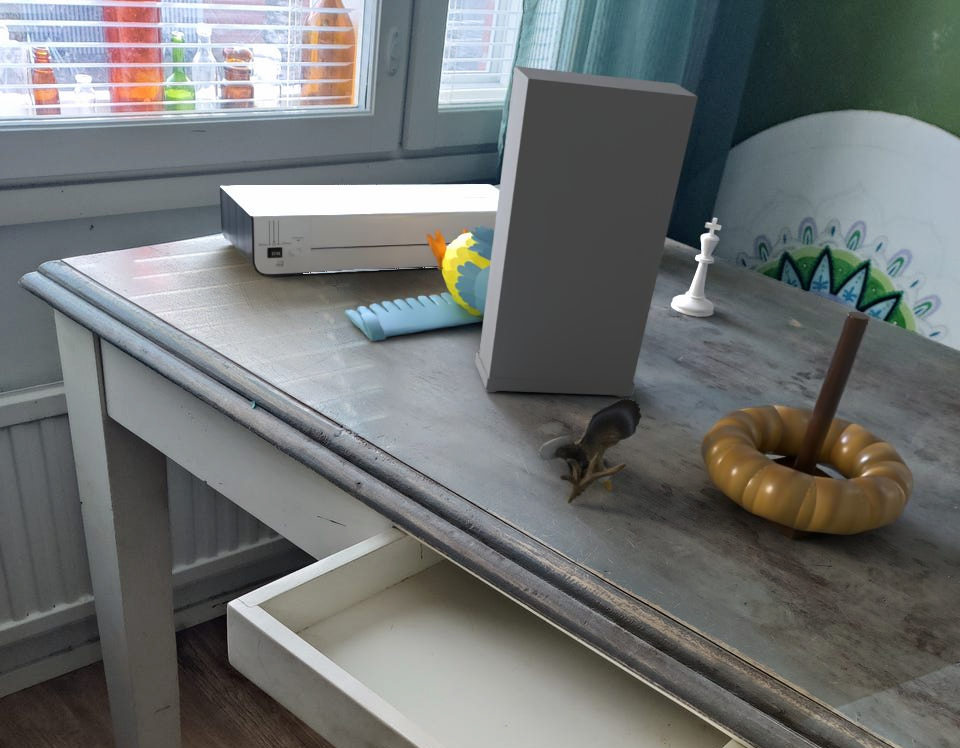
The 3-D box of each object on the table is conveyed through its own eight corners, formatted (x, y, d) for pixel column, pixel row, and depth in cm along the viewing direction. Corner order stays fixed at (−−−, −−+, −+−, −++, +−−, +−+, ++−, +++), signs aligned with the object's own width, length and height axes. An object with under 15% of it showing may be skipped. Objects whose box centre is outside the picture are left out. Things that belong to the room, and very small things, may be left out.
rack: (793, 466, 84) (855, 288, 75) (872, 519, 78) (950, 333, 69) (713, 482, 80) (769, 296, 71) (791, 539, 74) (863, 345, 65)
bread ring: (798, 430, 87) (812, 388, 85) (942, 521, 77) (963, 476, 74) (657, 456, 80) (669, 411, 77) (796, 561, 70) (814, 512, 67)
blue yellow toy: (560, 204, 109) (647, 251, 100) (546, 282, 114) (628, 334, 105) (329, 215, 95) (406, 271, 86) (327, 303, 101) (398, 365, 91)
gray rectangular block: (613, 371, 96) (674, 81, 81) (631, 398, 91) (700, 97, 76) (474, 365, 93) (510, 63, 78) (485, 393, 88) (526, 78, 73)
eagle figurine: (646, 507, 73) (659, 437, 79) (609, 431, 69) (625, 362, 75) (554, 531, 77) (573, 462, 83) (514, 460, 73) (536, 392, 79)
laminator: (483, 234, 126) (489, 183, 123) (531, 267, 118) (539, 213, 115) (221, 243, 112) (219, 185, 108) (256, 281, 103) (255, 219, 100)
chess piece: (709, 320, 111) (734, 228, 105) (667, 310, 112) (689, 218, 106) (716, 307, 115) (740, 218, 109) (675, 297, 116) (697, 208, 110)
